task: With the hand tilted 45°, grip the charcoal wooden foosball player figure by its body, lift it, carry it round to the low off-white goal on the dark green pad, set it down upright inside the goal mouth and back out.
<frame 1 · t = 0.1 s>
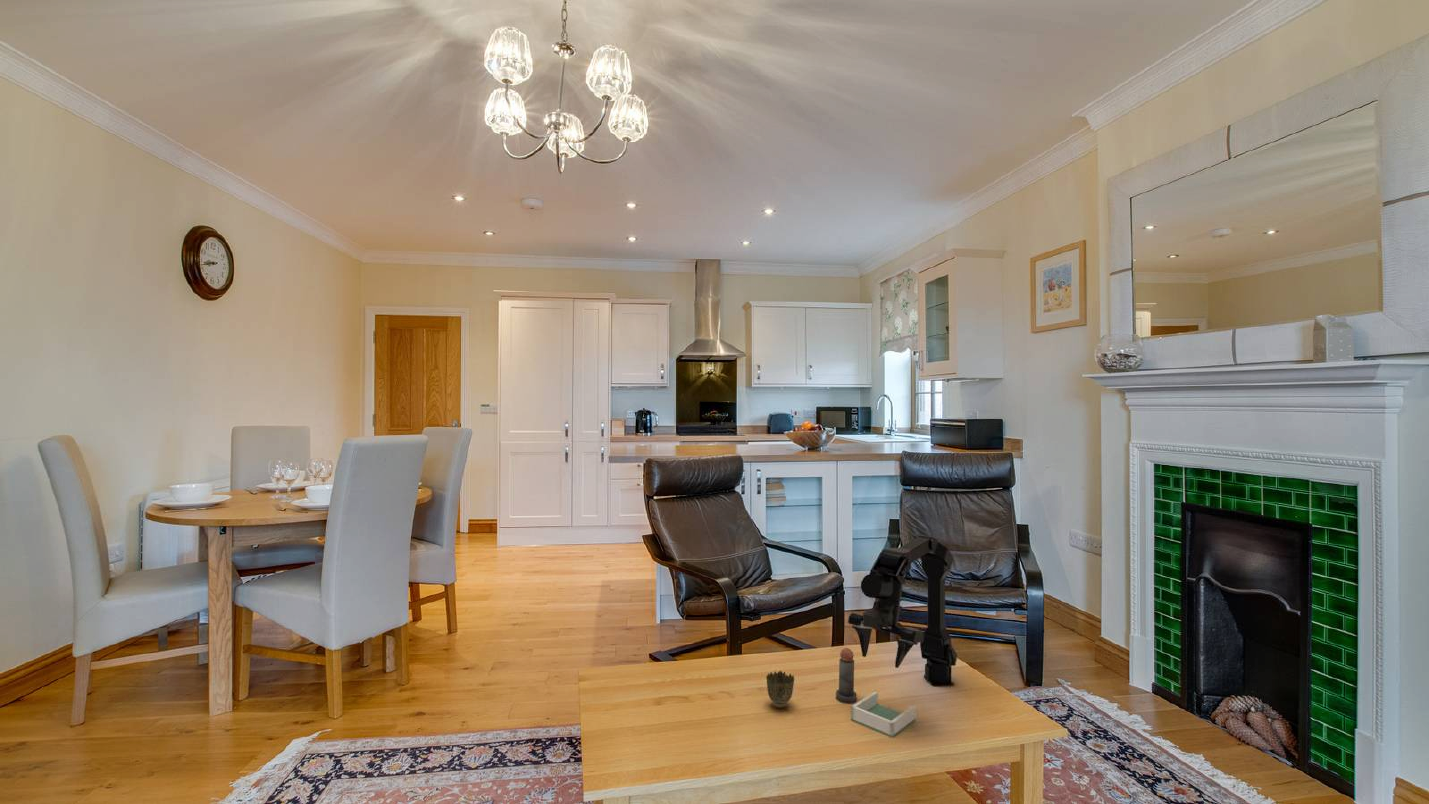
hand: (880, 662, 159), 15 cm above the table, tool pointing down, fingers open, 9 cm apart
goal: (883, 720, 160), on the table
player figure: (846, 698, 172), on the table
cup: (779, 707, 167), on the table
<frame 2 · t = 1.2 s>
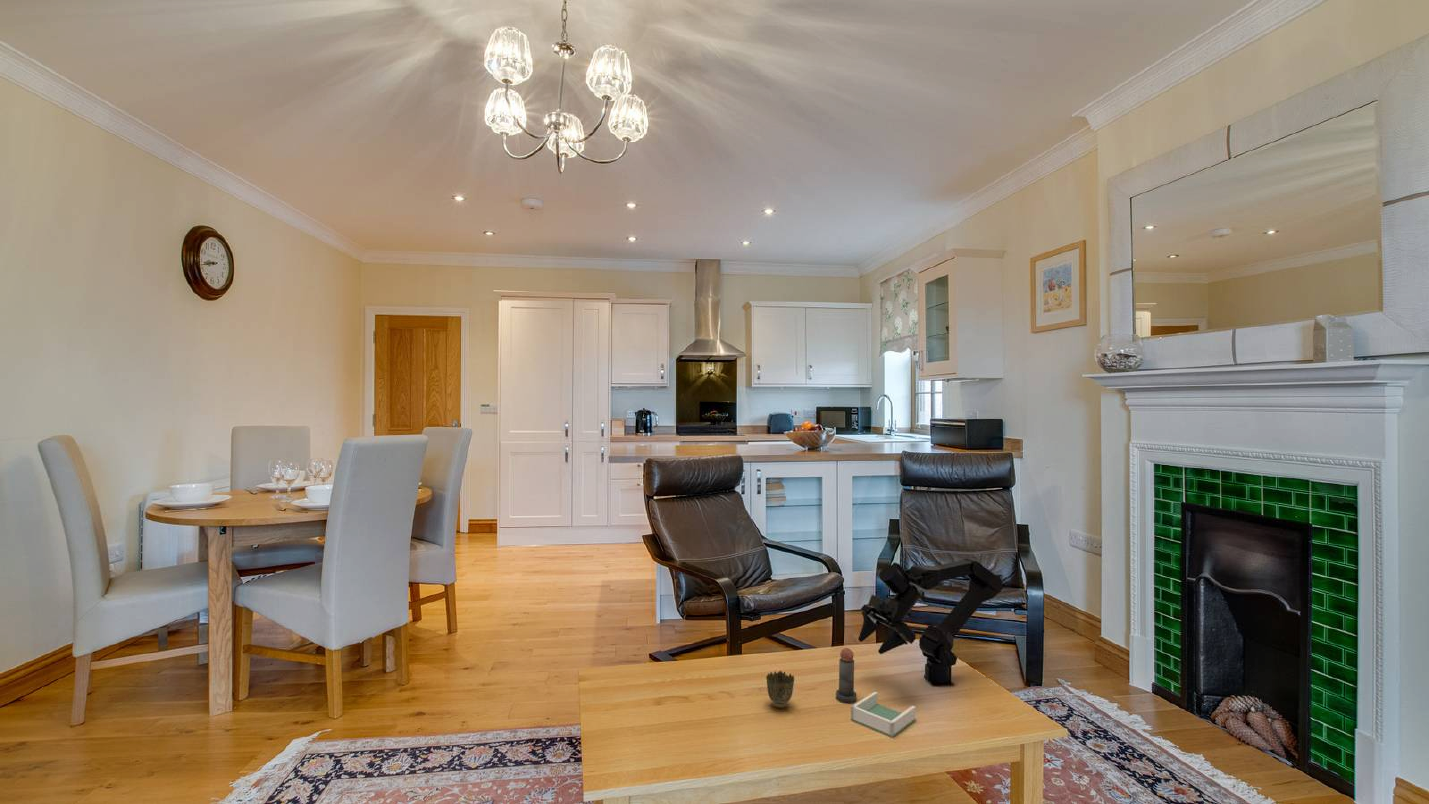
hand: (869, 646, 174), 13 cm above the table, tool tilted 45°, fingers open, 9 cm apart
nothing on the table moved.
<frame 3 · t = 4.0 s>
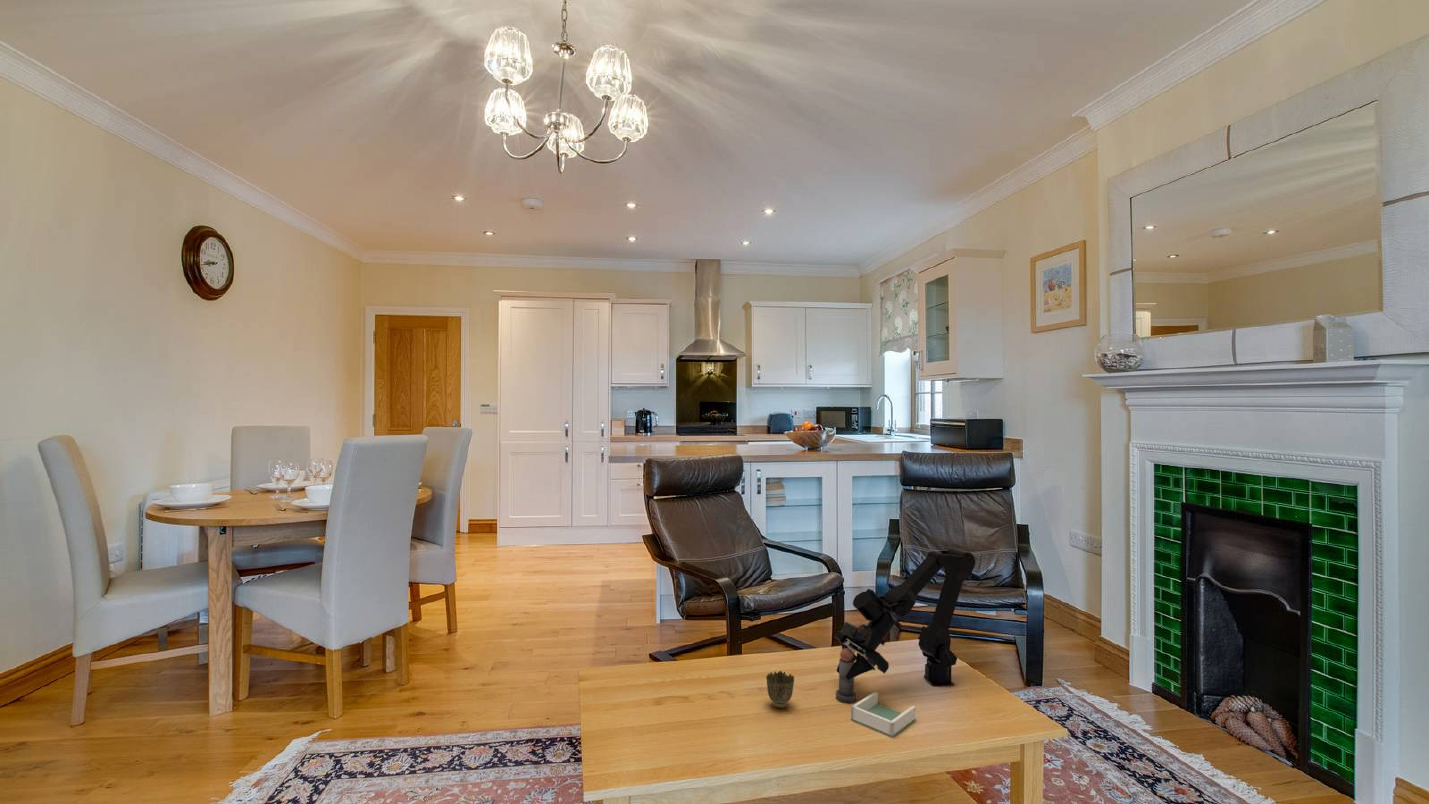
hand: (842, 675, 171), 7 cm above the table, tool tilted 45°, fingers closed on player figure, 4 cm apart
player figure: (846, 698, 172), on the table, touching gripper
everything else where it was.
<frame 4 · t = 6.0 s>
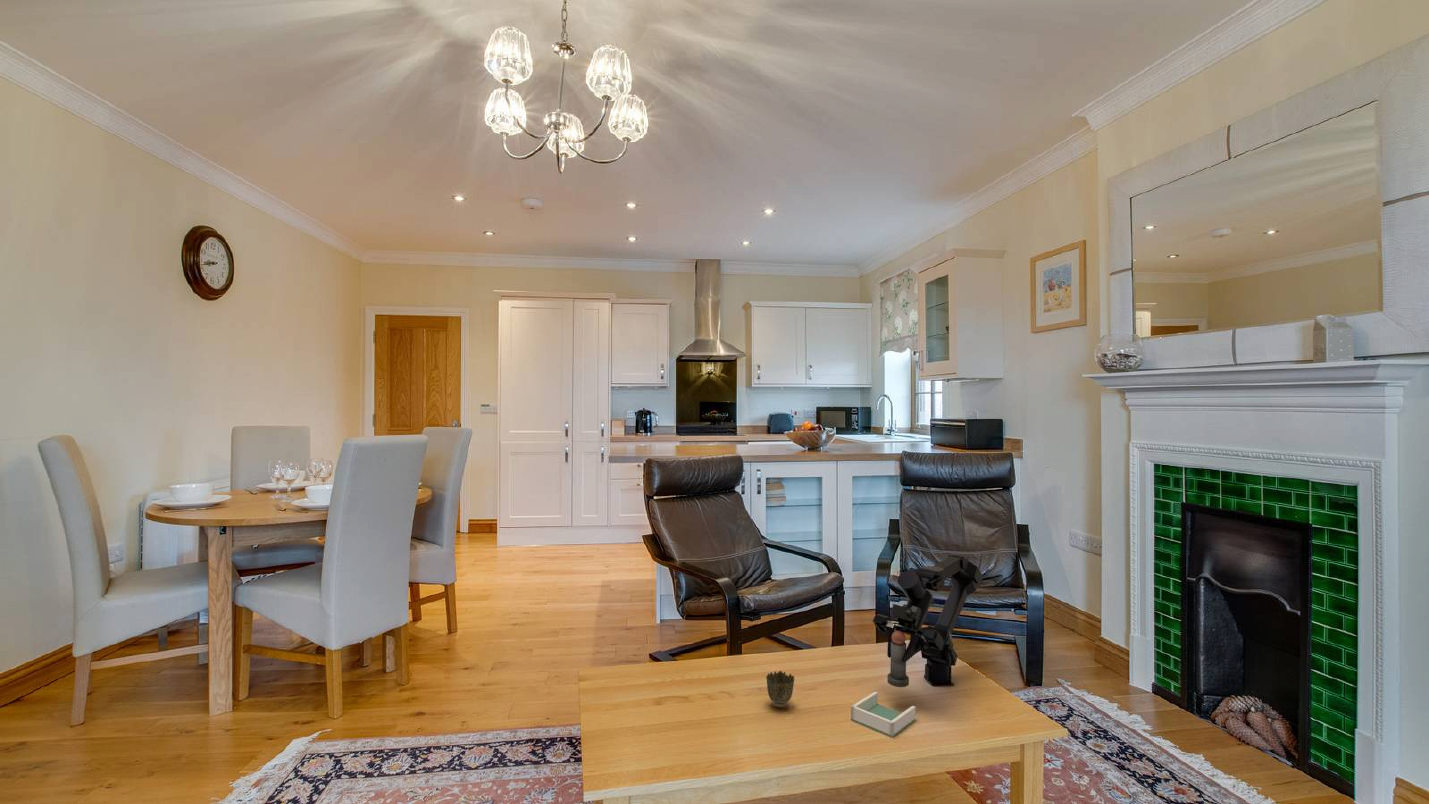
hand: (895, 659, 166), 13 cm above the table, tool tilted 45°, fingers closed on player figure, 4 cm apart
player figure: (898, 682, 167), point 7 cm above the table, touching gripper
everything else where it was.
when the fingers open (8 cm above the table, at t = 8.4 s): player figure drops 1 cm, resting on goal.
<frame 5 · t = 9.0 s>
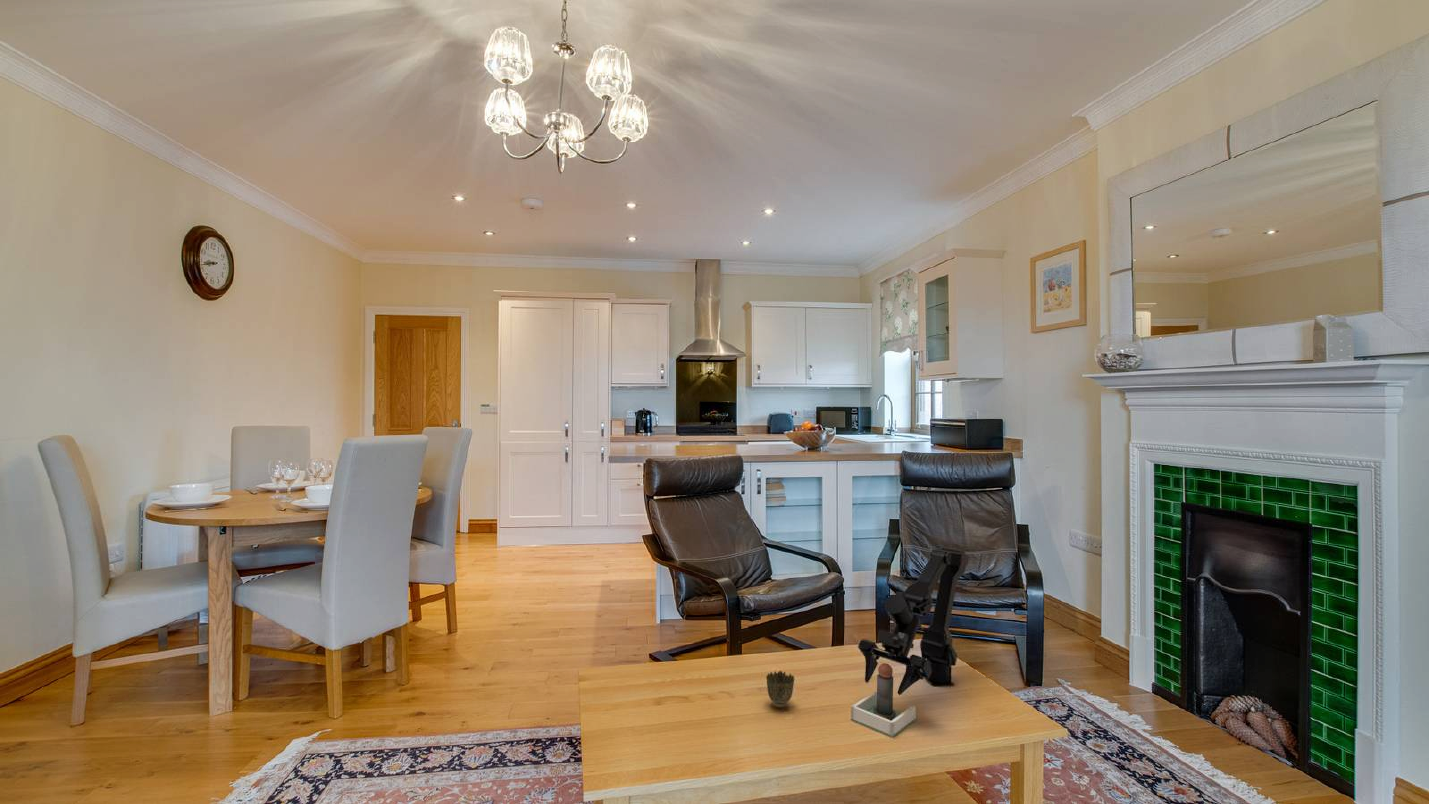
hand: (882, 688, 160), 9 cm above the table, tool tilted 45°, fingers open, 9 cm apart
player figure: (884, 717, 161), point 1 cm above the table, touching goal
everything else where it was.
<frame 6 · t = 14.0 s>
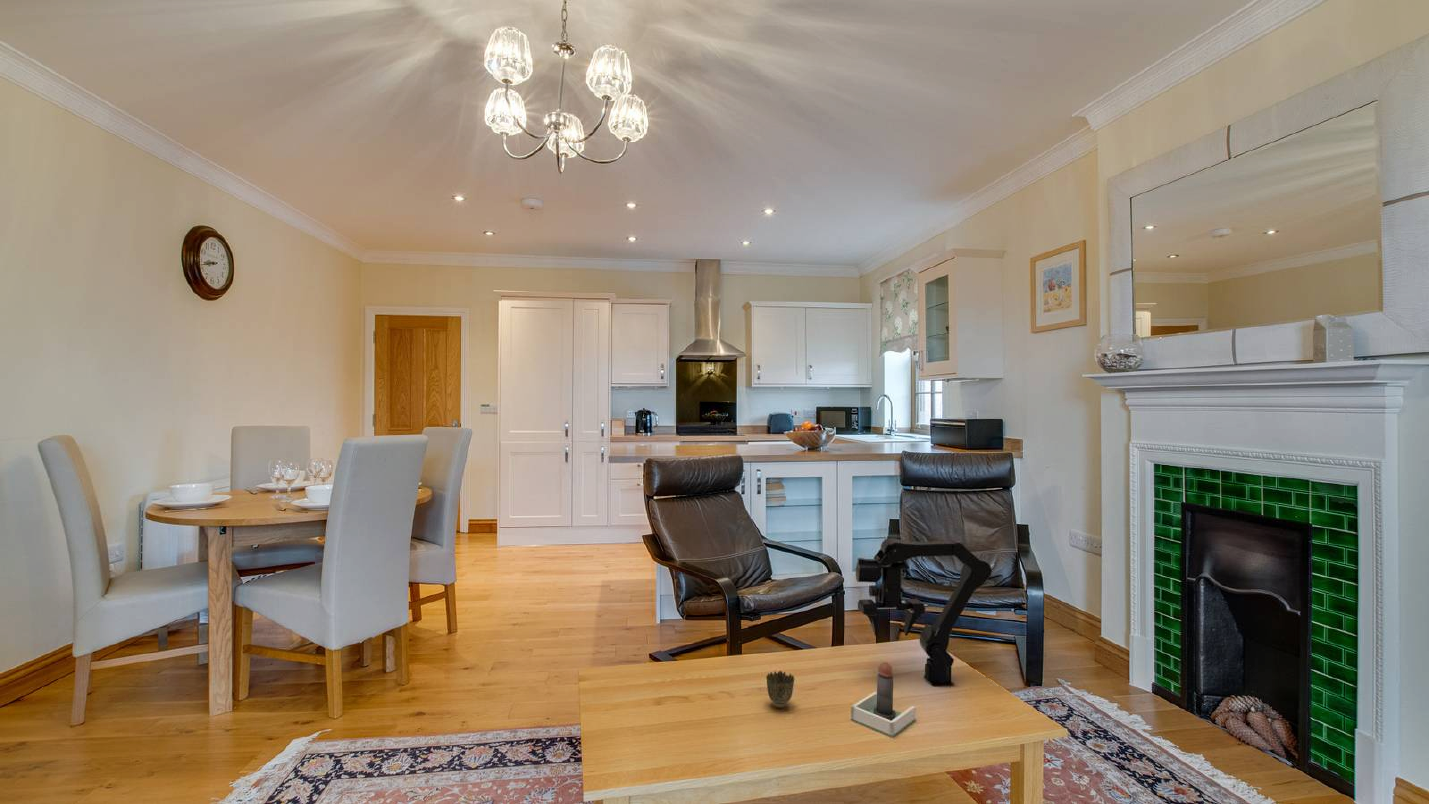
hand: (890, 635, 184), 13 cm above the table, tool pointing down, fingers open, 9 cm apart
nothing on the table moved.
at the end: player figure inside the target area on the goal (0.6 cm from its centre), point 0.6 cm above the goal's base; player figure tilted 1°; the gripper is holding nothing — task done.
